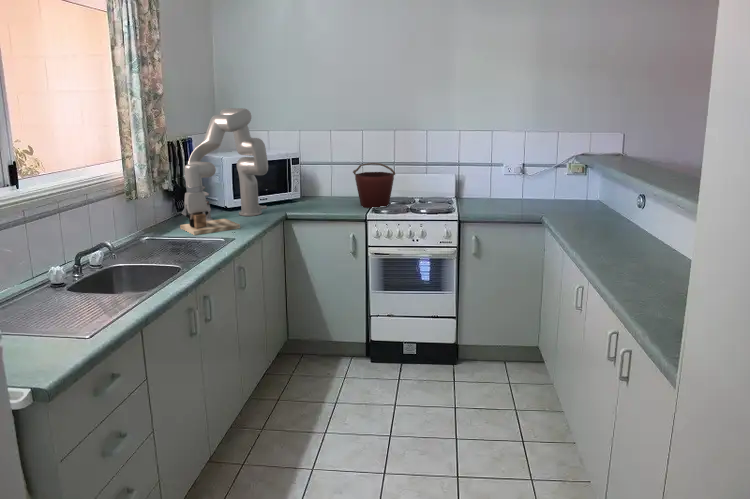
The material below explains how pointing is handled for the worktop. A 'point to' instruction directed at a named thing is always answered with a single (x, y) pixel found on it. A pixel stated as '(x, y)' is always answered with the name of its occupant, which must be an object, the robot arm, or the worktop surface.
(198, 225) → the block
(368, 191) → the bucket
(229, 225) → the plywood board
